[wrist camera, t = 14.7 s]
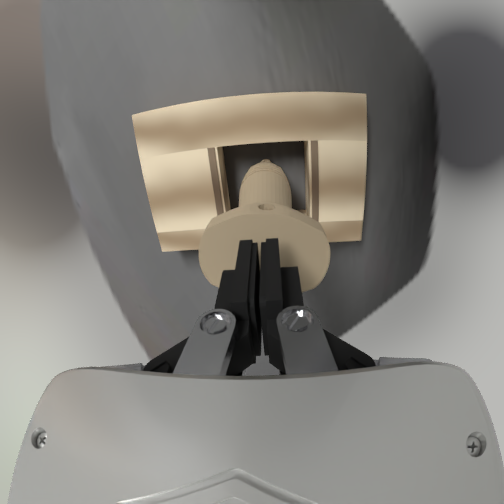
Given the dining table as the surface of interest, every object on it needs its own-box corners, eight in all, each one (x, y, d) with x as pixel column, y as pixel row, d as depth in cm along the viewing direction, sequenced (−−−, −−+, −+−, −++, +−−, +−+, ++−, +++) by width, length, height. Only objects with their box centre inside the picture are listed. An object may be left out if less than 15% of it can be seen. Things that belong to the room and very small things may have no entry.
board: (145, 112, 23) (131, 115, 21) (355, 93, 21) (366, 93, 19) (170, 237, 30) (162, 252, 28) (353, 226, 29) (361, 241, 26)
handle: (297, 198, 28) (321, 299, 15) (232, 196, 28) (202, 295, 15) (300, 151, 25) (337, 217, 12) (232, 149, 25) (194, 212, 12)
